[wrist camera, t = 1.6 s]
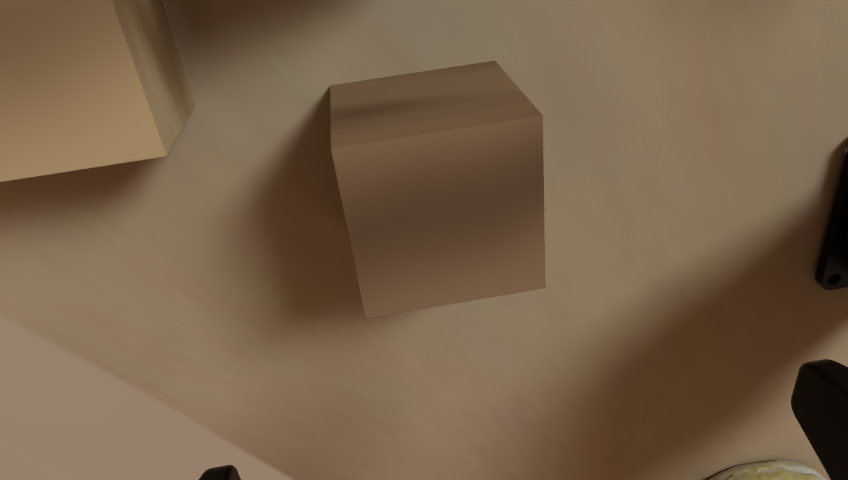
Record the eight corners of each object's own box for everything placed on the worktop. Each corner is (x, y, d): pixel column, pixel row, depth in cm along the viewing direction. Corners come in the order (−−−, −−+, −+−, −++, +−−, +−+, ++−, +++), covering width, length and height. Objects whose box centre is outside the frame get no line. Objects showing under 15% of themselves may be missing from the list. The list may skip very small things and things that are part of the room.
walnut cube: (502, 205, 22) (545, 287, 17) (358, 228, 21) (365, 318, 17) (494, 60, 19) (542, 115, 15) (330, 85, 19) (330, 148, 14)
